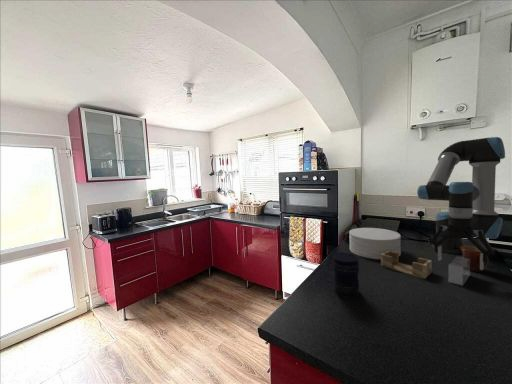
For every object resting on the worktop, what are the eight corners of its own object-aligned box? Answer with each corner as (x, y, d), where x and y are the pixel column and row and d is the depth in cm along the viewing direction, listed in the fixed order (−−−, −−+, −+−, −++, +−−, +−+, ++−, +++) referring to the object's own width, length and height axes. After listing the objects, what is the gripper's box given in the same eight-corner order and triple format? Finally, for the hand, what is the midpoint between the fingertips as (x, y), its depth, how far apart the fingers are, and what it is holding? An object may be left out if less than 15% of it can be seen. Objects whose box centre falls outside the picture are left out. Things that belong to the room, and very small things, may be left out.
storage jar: (348, 300, 82) (347, 263, 81) (329, 289, 91) (327, 256, 90) (364, 293, 87) (363, 258, 86) (344, 283, 96) (344, 251, 95)
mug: (455, 265, 107) (455, 245, 106) (476, 265, 105) (476, 245, 104) (474, 276, 95) (475, 254, 95) (498, 277, 94) (498, 254, 93)
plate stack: (399, 247, 137) (399, 229, 136) (401, 263, 113) (401, 242, 112) (352, 241, 152) (352, 226, 151) (346, 255, 128) (345, 236, 127)
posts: (388, 260, 116) (388, 250, 116) (431, 272, 101) (432, 260, 101) (380, 266, 111) (380, 254, 110) (425, 278, 95) (425, 266, 95)
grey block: (448, 282, 92) (448, 264, 91) (456, 272, 100) (456, 256, 99) (462, 286, 88) (462, 267, 88) (469, 275, 96) (470, 258, 96)
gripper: (422, 214, 100) (422, 258, 101) (502, 222, 80) (501, 276, 81) (427, 212, 104) (427, 254, 106) (505, 219, 84) (503, 270, 85)
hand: (459, 264), depth 93 cm, fingers open, 13 cm apart
